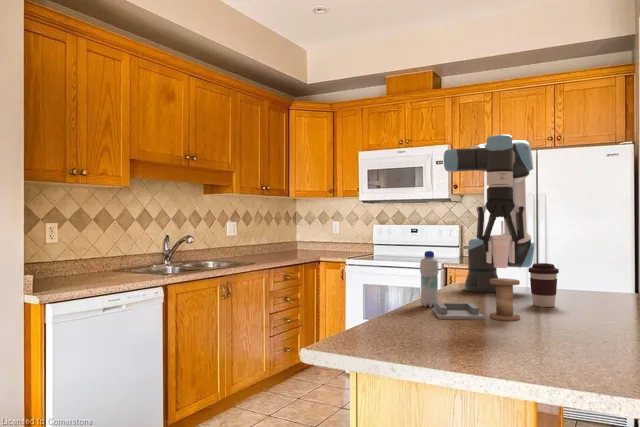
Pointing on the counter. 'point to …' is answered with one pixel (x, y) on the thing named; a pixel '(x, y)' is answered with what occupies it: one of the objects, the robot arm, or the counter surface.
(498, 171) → the robot arm
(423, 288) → the bottle
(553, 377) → the counter surface
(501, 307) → the bobbin
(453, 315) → the notch board
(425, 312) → the counter surface
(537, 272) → the coffee cup
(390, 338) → the counter surface
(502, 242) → the smoothie
